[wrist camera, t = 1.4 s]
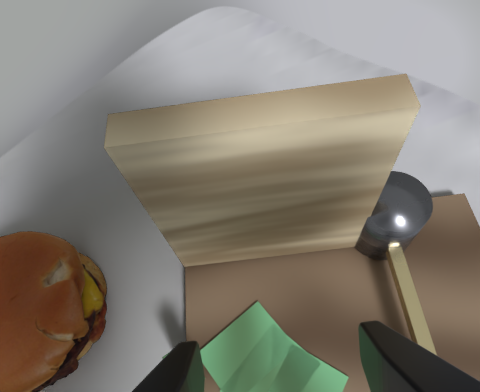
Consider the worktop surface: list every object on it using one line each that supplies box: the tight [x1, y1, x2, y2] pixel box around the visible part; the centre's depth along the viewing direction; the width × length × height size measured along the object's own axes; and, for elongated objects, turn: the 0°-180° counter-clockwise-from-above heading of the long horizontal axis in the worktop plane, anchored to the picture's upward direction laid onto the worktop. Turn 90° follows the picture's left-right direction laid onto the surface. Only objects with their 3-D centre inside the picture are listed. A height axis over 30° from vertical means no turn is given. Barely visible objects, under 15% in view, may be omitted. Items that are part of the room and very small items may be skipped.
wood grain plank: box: [104, 74, 437, 355], centre depth 15 cm, size 13×14×12 cm
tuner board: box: [162, 194, 480, 392], centre depth 19 cm, size 17×19×3 cm
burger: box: [0, 231, 107, 392], centre depth 21 cm, size 10×9×5 cm
